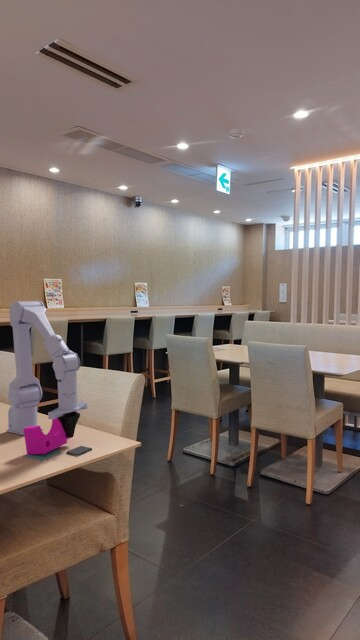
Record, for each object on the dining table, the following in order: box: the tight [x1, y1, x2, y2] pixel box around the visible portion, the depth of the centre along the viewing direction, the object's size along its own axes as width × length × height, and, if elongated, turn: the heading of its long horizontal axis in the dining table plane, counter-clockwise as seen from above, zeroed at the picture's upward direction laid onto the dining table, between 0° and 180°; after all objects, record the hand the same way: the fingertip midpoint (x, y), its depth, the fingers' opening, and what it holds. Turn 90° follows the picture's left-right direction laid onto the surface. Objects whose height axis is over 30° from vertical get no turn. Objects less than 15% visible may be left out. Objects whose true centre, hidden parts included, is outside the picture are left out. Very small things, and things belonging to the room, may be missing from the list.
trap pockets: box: [66, 445, 93, 457], centre depth 139 cm, size 20×6×1 cm, turn 59°
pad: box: [22, 449, 64, 462], centre depth 133 cm, size 8×8×1 cm
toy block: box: [23, 418, 70, 454], centre depth 138 cm, size 15×6×8 cm, turn 157°
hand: (69, 437), depth 141 cm, fingers closed
